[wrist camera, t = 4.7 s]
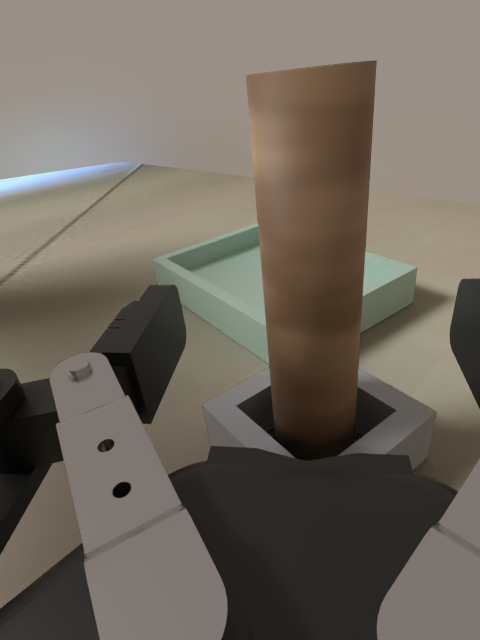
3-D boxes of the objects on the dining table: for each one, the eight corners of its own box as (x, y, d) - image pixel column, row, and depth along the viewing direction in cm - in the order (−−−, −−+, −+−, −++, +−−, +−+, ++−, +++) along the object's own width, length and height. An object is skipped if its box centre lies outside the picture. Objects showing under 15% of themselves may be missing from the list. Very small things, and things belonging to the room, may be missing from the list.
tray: (158, 288, 33) (151, 258, 32) (266, 247, 38) (264, 220, 37) (286, 376, 22) (284, 337, 21) (412, 302, 27) (417, 267, 26)
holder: (210, 446, 18) (202, 404, 17) (314, 382, 21) (313, 342, 20) (314, 559, 14) (313, 513, 13) (427, 457, 17) (436, 411, 16)
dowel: (261, 449, 18) (221, 78, 11) (313, 414, 20) (310, 66, 12) (314, 499, 16) (308, 70, 9) (369, 454, 17) (404, 57, 10)
